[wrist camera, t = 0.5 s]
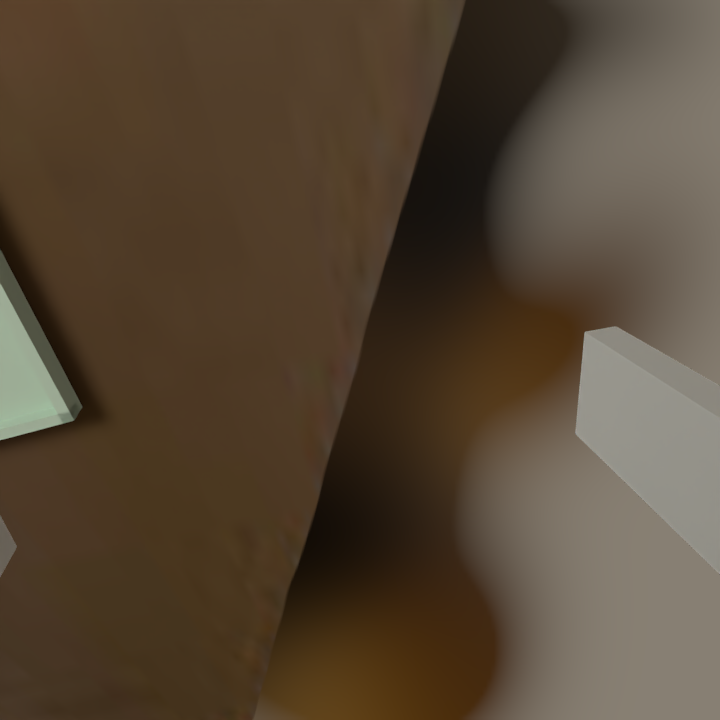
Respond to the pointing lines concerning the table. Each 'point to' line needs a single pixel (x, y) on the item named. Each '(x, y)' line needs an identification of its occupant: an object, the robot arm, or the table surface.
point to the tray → (28, 368)
